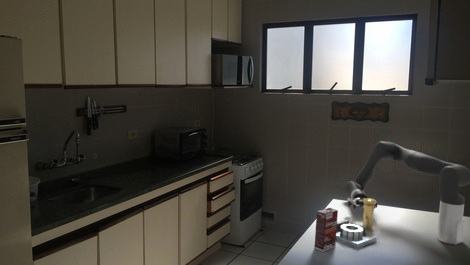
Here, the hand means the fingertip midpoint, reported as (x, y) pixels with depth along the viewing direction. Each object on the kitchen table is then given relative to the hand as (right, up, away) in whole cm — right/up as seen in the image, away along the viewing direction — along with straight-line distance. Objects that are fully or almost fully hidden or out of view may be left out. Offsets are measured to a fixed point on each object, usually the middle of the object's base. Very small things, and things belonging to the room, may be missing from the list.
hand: (364, 207), depth 198 cm
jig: (-13, -10, -22) cm, 27 cm away
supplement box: (-26, -11, -32) cm, 43 cm away
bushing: (-2, -8, -10) cm, 13 cm away
